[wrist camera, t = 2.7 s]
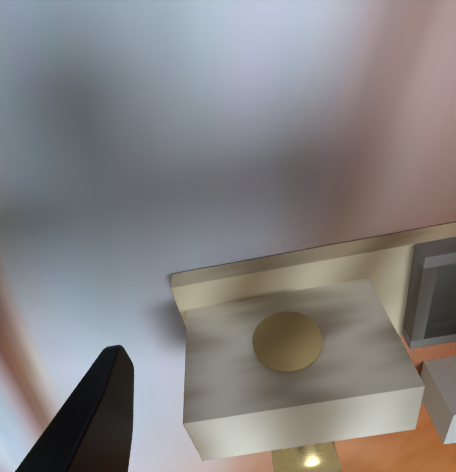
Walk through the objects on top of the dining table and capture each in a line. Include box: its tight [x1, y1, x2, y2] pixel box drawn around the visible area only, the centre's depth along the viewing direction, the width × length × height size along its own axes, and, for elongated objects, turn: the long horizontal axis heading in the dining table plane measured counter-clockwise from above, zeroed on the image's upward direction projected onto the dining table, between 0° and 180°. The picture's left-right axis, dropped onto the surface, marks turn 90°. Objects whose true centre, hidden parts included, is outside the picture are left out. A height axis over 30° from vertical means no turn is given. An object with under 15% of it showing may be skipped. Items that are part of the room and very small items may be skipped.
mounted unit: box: [170, 222, 456, 461], centre depth 21 cm, size 23×8×8 cm, turn 101°
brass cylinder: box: [271, 441, 342, 472], centre depth 29 cm, size 5×5×6 cm
